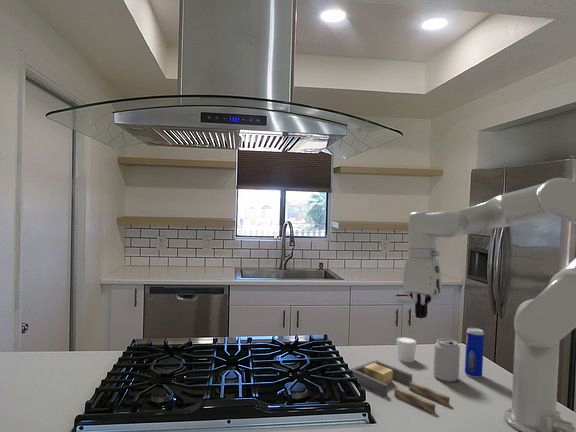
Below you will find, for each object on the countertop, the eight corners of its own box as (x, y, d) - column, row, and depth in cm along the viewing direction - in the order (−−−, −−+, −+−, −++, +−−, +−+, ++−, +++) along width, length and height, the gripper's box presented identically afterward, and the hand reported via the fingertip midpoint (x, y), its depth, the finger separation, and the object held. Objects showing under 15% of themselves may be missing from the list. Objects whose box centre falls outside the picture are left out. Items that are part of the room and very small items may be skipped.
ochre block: (392, 382, 123) (392, 370, 123) (382, 387, 119) (382, 374, 119) (373, 375, 128) (374, 362, 128) (363, 379, 125) (364, 366, 125)
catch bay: (412, 384, 122) (412, 374, 122) (384, 395, 113) (385, 385, 113) (376, 369, 132) (376, 360, 132) (348, 378, 124) (349, 369, 124)
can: (460, 384, 123) (462, 346, 123) (435, 381, 124) (436, 343, 124) (455, 374, 130) (457, 338, 130) (431, 372, 132) (433, 336, 132)
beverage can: (461, 372, 132) (463, 327, 132) (473, 371, 134) (475, 326, 134) (472, 379, 127) (474, 332, 127) (485, 377, 129) (487, 331, 129)
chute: (449, 404, 110) (449, 397, 110) (432, 413, 104) (432, 405, 104) (411, 388, 119) (411, 381, 119) (394, 395, 114) (394, 388, 114)
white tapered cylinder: (415, 357, 145) (415, 338, 145) (416, 364, 138) (417, 344, 138) (395, 354, 147) (396, 336, 147) (396, 361, 140) (397, 341, 140)
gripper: (452, 255, 112) (452, 320, 112) (406, 251, 124) (406, 310, 124) (439, 257, 107) (438, 325, 107) (392, 252, 119) (391, 314, 119)
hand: (421, 317), depth 116 cm, fingers closed
